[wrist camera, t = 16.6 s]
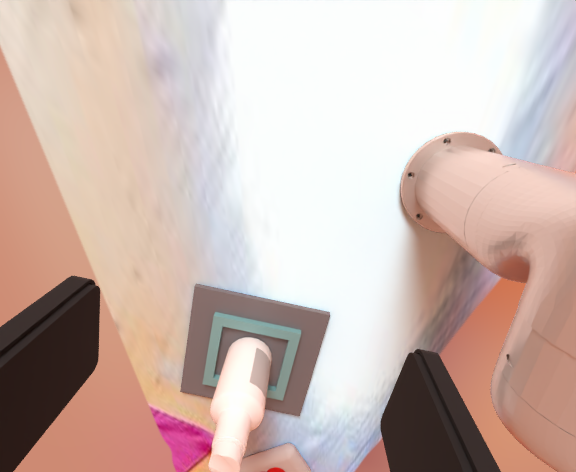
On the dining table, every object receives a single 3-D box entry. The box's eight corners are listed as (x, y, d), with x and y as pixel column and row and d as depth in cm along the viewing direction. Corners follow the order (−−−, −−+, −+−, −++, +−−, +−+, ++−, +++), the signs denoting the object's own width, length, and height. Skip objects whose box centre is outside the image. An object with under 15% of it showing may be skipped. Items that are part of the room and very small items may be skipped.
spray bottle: (252, 379, 56) (228, 497, 39) (219, 354, 54) (179, 466, 38) (281, 354, 54) (269, 468, 37) (247, 328, 52) (219, 433, 36)
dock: (329, 312, 52) (330, 319, 50) (299, 411, 59) (299, 421, 57) (196, 283, 51) (192, 289, 49) (182, 387, 58) (178, 396, 56)
